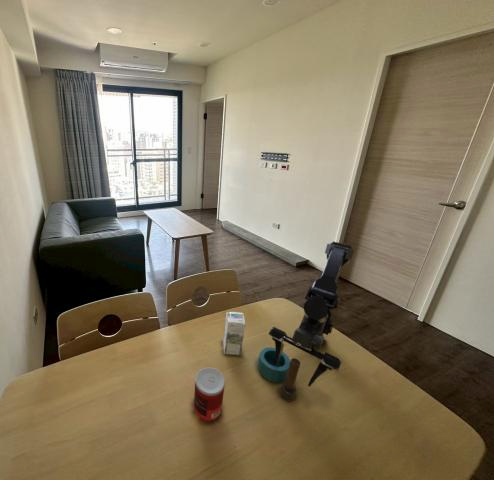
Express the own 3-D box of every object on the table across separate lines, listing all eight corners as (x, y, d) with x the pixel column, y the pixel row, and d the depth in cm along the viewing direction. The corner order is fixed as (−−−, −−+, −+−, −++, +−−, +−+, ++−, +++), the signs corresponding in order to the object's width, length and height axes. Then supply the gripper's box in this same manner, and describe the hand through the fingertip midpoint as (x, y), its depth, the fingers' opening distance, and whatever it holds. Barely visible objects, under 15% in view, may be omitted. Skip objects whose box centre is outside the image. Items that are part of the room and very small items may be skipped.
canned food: (223, 399, 72) (226, 371, 68) (218, 427, 65) (222, 398, 61) (197, 391, 75) (199, 363, 70) (190, 417, 68) (191, 388, 63)
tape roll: (270, 354, 88) (273, 343, 86) (293, 374, 80) (296, 363, 78) (251, 365, 83) (253, 353, 82) (273, 387, 76) (276, 375, 74)
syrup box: (238, 343, 92) (243, 311, 87) (240, 356, 87) (245, 323, 81) (222, 342, 93) (226, 310, 87) (224, 355, 87) (228, 321, 82)
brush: (285, 385, 77) (294, 353, 72) (297, 396, 73) (306, 364, 68) (276, 391, 75) (284, 359, 70) (288, 403, 72) (297, 370, 67)
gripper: (276, 304, 74) (254, 354, 71) (350, 336, 62) (327, 398, 59) (282, 313, 82) (262, 358, 79) (348, 343, 71) (328, 397, 67)
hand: (291, 375), depth 71 cm, fingers open, 9 cm apart
